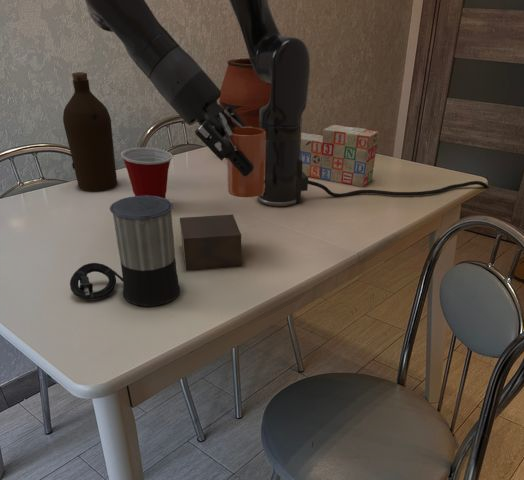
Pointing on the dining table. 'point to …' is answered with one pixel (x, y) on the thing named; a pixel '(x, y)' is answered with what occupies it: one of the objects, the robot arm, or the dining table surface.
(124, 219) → the milk frother
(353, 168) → the stack of blocks
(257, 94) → the goblet
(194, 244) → the walnut block
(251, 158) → the terracotta cup
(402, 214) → the dining table surface
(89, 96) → the olive oil
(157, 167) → the plastic cup
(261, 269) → the dining table surface
